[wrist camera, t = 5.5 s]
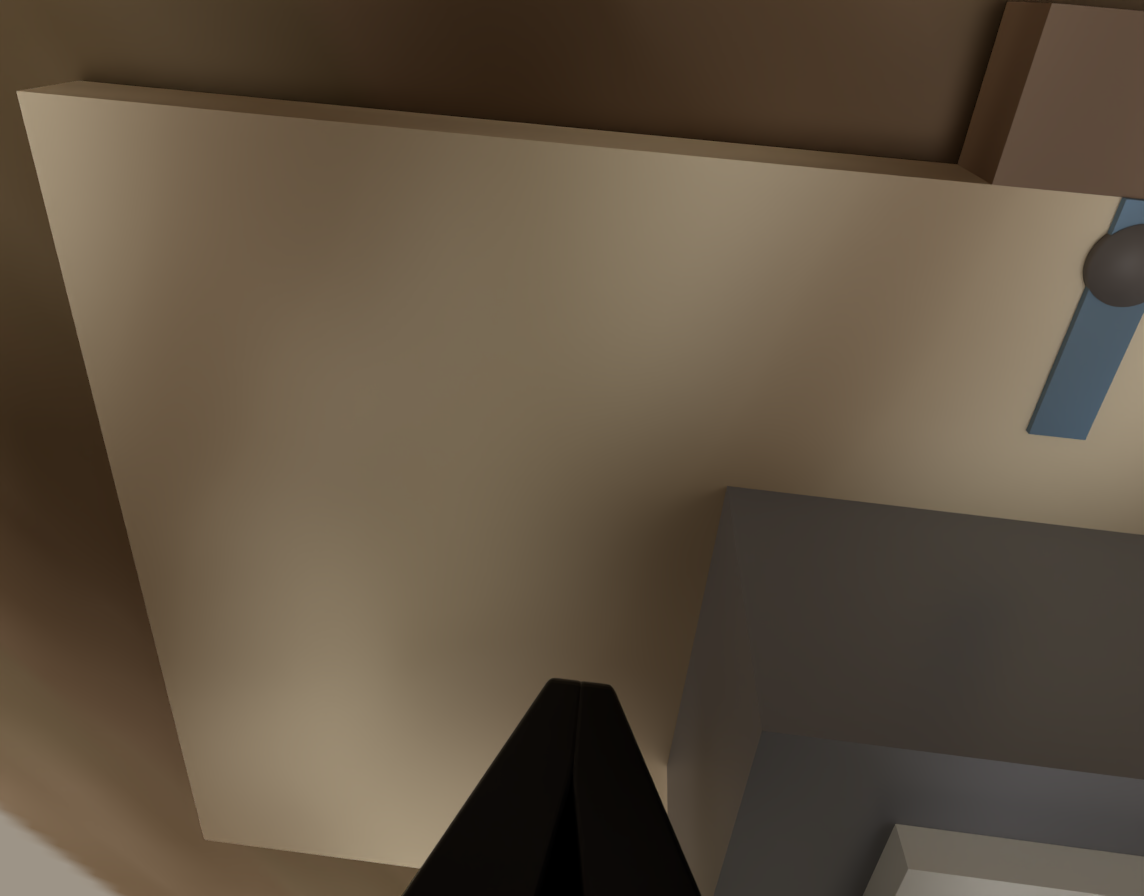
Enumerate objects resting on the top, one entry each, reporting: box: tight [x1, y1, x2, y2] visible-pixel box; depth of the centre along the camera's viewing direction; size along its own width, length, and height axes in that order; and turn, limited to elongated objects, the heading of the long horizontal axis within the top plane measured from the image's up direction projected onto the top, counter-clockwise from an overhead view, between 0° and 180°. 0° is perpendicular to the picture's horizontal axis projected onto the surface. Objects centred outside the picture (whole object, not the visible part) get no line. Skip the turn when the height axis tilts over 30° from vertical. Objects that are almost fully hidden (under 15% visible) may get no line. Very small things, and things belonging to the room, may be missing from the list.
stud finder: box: [667, 486, 1144, 896], centre depth 9 cm, size 7×5×4 cm
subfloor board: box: [16, 1, 1144, 868], centre depth 11 cm, size 16×15×1 cm
